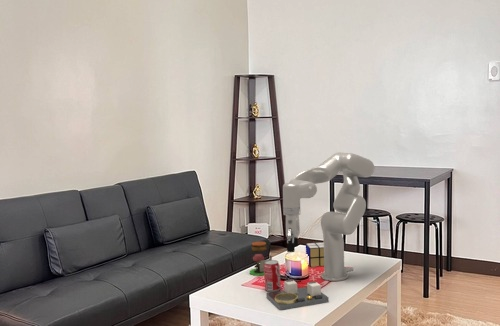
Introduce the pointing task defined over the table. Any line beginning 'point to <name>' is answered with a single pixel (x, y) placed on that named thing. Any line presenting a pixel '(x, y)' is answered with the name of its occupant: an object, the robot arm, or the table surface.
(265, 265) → the soda can
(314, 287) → the block
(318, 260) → the puzzle cube
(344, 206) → the robot arm
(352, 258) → the table surface
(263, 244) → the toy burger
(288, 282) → the block
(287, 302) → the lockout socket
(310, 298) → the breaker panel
